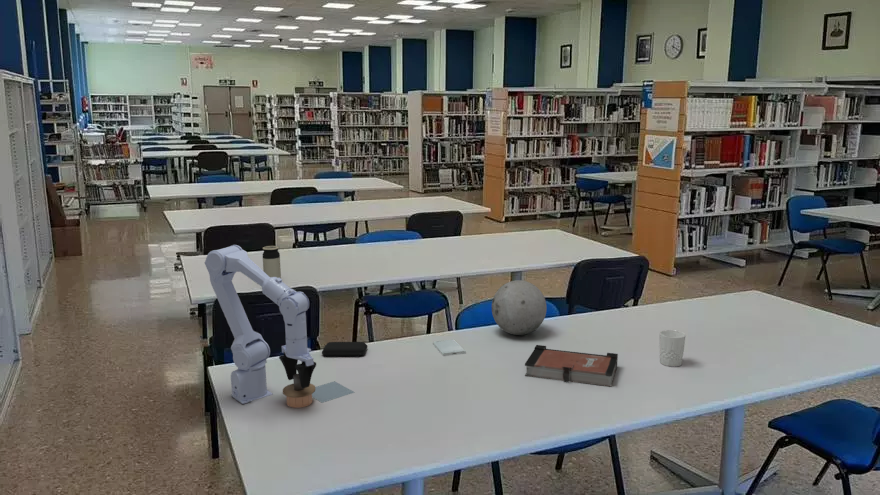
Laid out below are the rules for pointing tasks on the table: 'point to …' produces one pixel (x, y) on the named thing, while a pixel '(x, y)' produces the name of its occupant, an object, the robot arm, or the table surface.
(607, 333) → the table surface
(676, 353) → the white cup
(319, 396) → the mat
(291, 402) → the bowl
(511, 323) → the moon model
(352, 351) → the carrying case or bag
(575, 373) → the book
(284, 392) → the lid
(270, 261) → the travel mug
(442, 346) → the hard drive
